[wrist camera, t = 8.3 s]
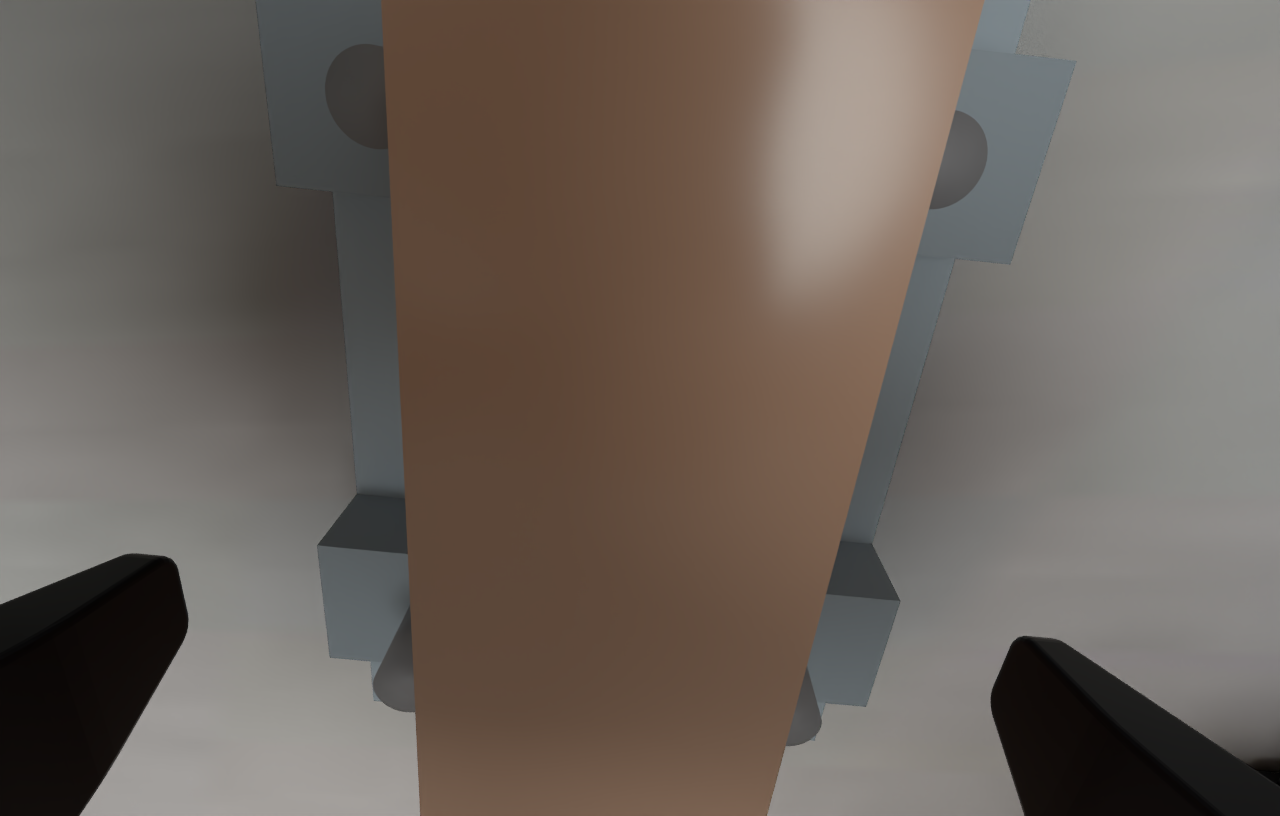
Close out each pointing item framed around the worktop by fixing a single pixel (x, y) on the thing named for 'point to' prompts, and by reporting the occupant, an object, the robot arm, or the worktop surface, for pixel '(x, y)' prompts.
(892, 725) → the worktop surface
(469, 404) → the brown rectangular block
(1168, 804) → the robot arm
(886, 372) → the grey pegged stand
